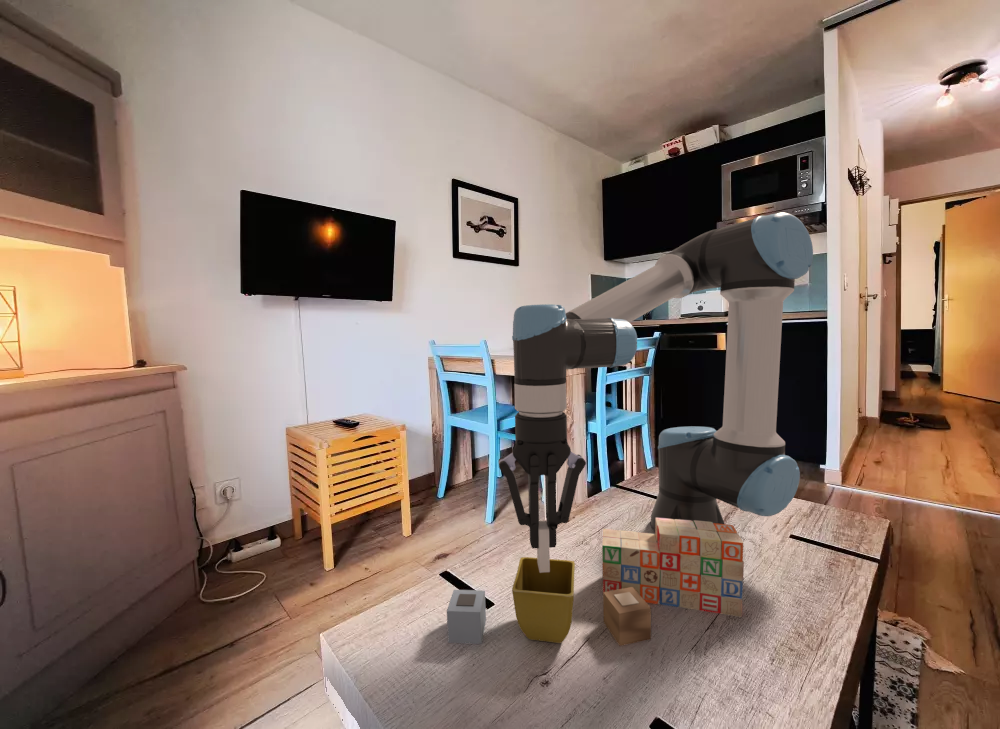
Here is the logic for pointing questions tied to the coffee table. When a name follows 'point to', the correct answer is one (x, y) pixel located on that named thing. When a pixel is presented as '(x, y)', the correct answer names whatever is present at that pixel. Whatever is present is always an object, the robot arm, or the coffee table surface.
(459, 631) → the grey cube marked
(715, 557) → the stack of blocks
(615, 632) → the walnut cube marked
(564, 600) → the flower pot
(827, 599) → the coffee table surface
